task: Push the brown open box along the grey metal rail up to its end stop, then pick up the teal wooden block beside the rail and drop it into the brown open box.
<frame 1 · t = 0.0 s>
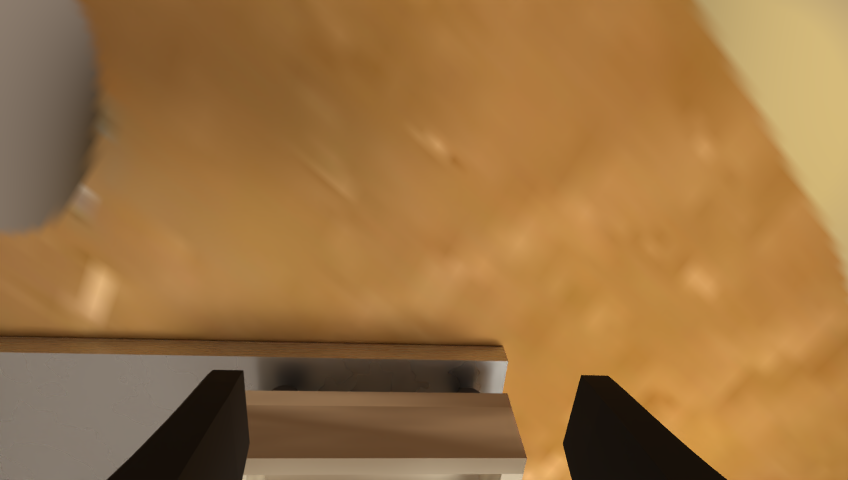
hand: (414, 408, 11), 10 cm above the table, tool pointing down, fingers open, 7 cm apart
rail board: (202, 444, 25), on the table
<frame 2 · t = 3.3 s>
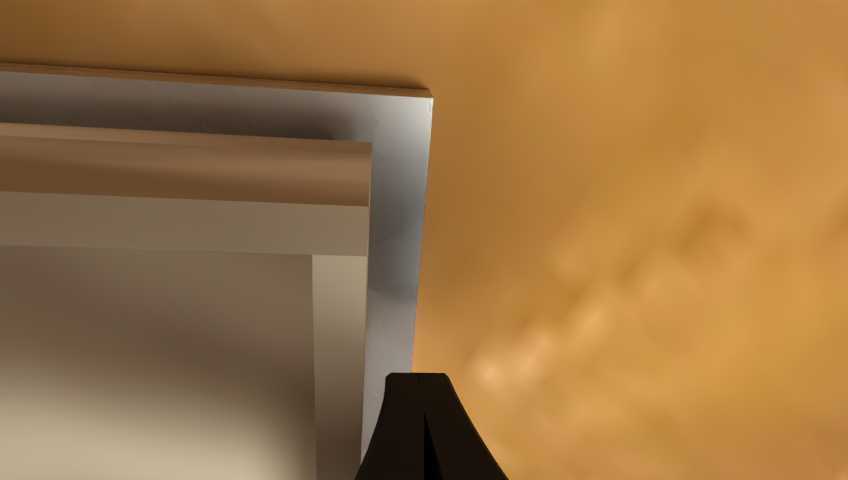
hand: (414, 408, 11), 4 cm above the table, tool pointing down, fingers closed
brown open box: (111, 389, 11), point 3 cm above the table, slide at 1.1 cm, touching gripper
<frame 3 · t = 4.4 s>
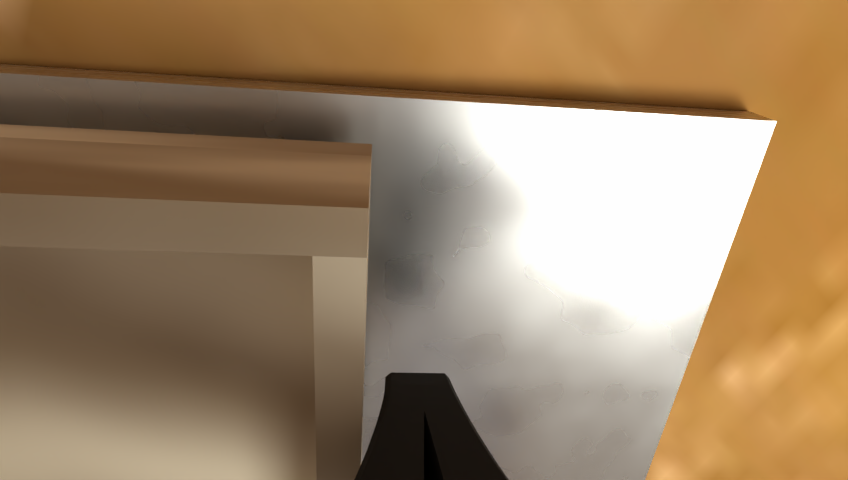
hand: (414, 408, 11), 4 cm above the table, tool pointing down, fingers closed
rail board: (208, 303, 14), on the table
brown open box: (111, 390, 11), point 3 cm above the table, slide at 9.0 cm, touching gripper
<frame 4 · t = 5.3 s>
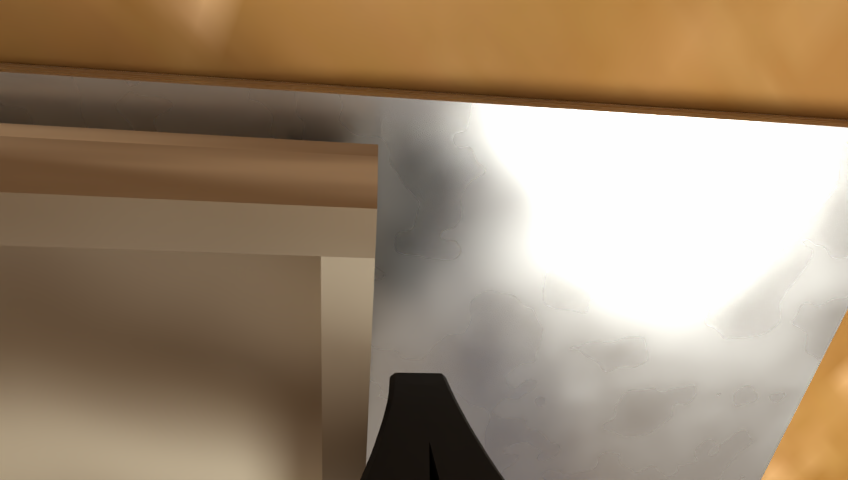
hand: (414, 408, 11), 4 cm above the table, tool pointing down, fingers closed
rail board: (361, 307, 15), on the table
brown open box: (116, 390, 11), point 3 cm above the table, slide at 13.0 cm, touching gripper
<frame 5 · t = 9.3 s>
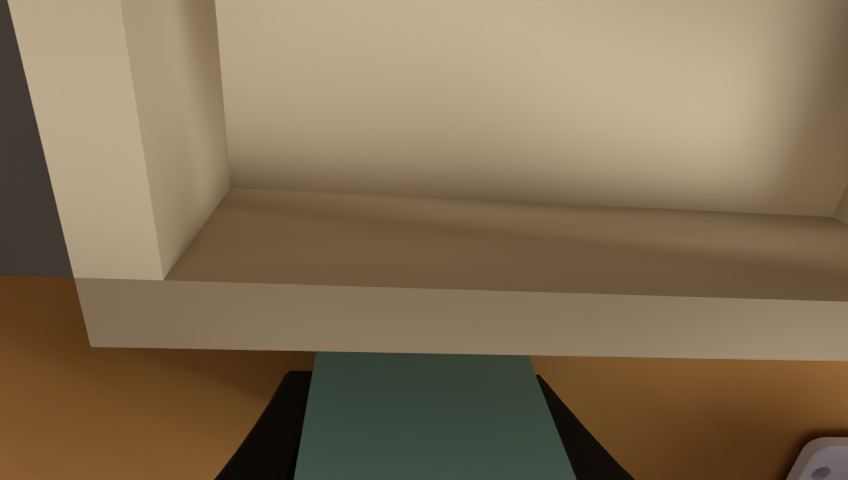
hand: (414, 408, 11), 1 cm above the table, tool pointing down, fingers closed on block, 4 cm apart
block: (410, 364, 13), on the table, touching gripper
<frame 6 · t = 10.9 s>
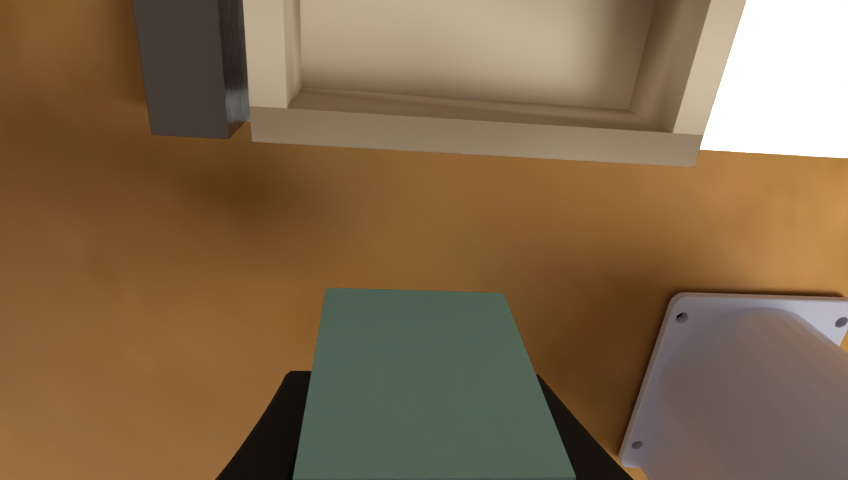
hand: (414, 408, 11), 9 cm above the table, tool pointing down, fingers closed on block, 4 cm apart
block: (410, 361, 13), point 7 cm above the table, touching gripper
when the fingers open (6 cm above the table, at t = 12.5 s): block drops 2 cm, resting on brown open box.
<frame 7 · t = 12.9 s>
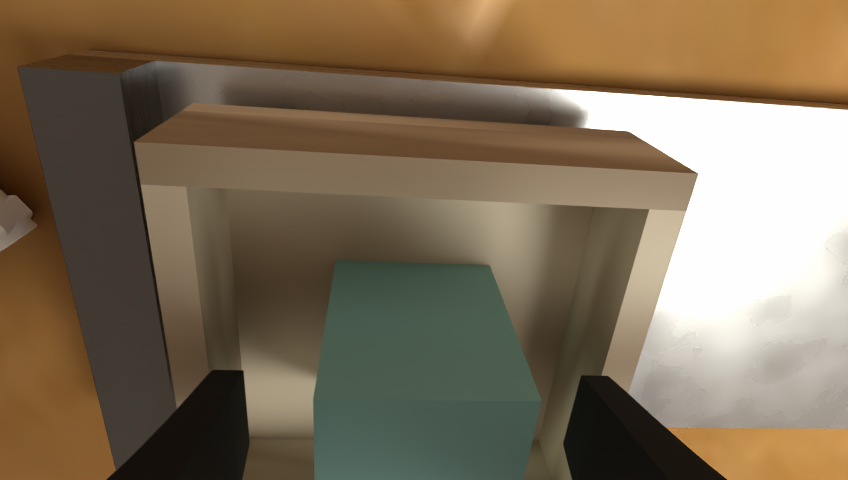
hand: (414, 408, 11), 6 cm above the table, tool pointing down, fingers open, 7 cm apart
rail board: (552, 270, 18), on the table
block: (408, 326, 15), point 3 cm above the table, touching brown open box
brown open box: (407, 326, 14), point 3 cm above the table, slide at 13.0 cm, touching block
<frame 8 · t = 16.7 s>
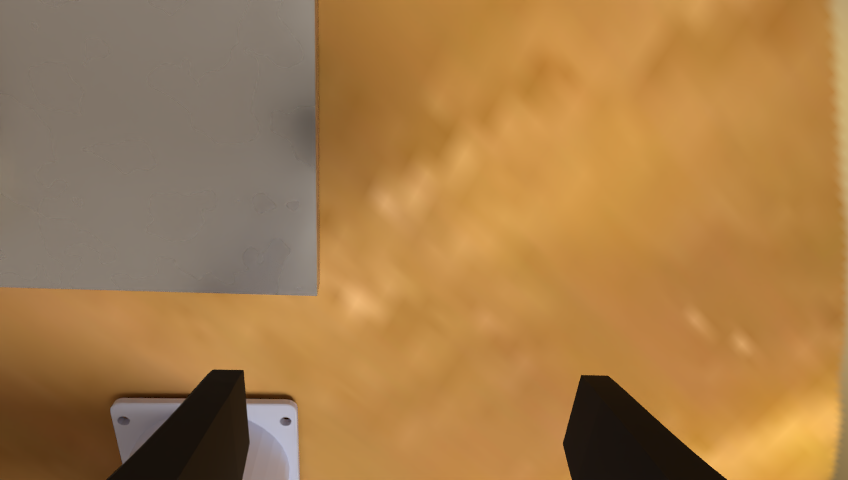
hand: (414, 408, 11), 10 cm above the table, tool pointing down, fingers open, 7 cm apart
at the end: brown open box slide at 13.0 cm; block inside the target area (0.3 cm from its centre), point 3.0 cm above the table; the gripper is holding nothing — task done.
